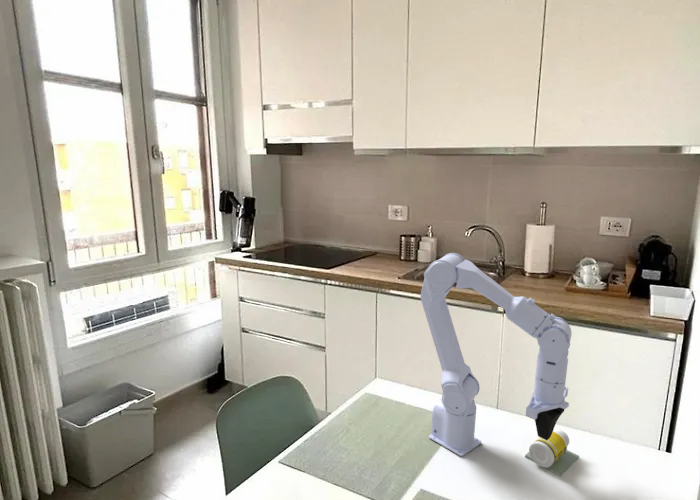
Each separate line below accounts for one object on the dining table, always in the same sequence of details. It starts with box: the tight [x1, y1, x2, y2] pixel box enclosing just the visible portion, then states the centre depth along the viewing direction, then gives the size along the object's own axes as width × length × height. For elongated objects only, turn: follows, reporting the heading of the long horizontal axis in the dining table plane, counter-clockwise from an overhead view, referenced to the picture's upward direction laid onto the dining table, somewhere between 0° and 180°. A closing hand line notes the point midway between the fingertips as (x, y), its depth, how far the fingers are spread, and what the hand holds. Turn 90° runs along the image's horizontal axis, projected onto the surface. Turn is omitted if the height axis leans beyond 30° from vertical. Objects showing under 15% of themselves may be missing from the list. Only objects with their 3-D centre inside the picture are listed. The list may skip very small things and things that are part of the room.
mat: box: [524, 449, 580, 476], centre depth 103 cm, size 8×9×1 cm
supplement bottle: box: [528, 429, 570, 468], centre depth 102 cm, size 5×5×10 cm
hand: (543, 437), depth 98 cm, fingers closed
